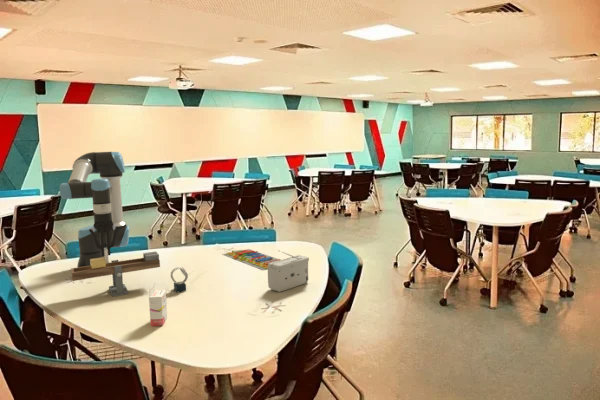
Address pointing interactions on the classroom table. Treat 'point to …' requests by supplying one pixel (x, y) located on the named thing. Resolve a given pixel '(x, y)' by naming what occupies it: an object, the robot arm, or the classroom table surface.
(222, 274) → the classroom table surface
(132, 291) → the classroom table surface
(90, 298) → the classroom table surface
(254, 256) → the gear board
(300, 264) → the stereo radio cassette player
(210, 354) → the classroom table surface
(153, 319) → the ink cartridge box
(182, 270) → the watch
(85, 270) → the balance beam
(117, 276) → the pivot stand
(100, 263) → the brass rider
